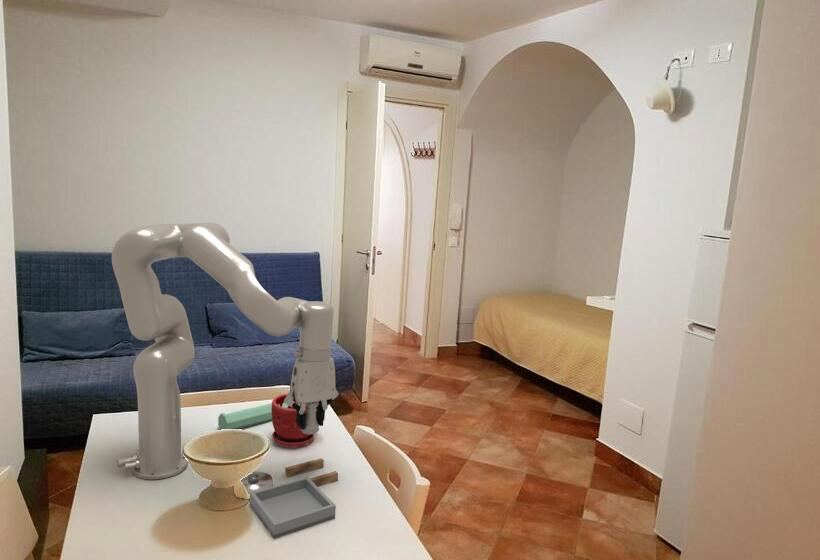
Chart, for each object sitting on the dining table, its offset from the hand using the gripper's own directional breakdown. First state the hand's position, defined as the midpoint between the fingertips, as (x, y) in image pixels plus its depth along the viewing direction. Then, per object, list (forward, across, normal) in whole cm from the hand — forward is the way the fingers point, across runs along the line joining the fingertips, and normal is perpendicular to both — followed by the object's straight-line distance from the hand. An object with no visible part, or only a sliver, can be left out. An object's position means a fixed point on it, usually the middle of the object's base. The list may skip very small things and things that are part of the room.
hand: (310, 424), depth 134 cm
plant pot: (+14, +6, +20) cm, 26 cm away
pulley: (+14, -13, +1) cm, 19 cm away
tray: (+14, -9, -12) cm, 20 cm away
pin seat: (+14, +1, -1) cm, 14 cm away
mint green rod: (+15, +3, +37) cm, 40 cm away
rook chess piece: (+2, 0, 0) cm, 2 cm away
